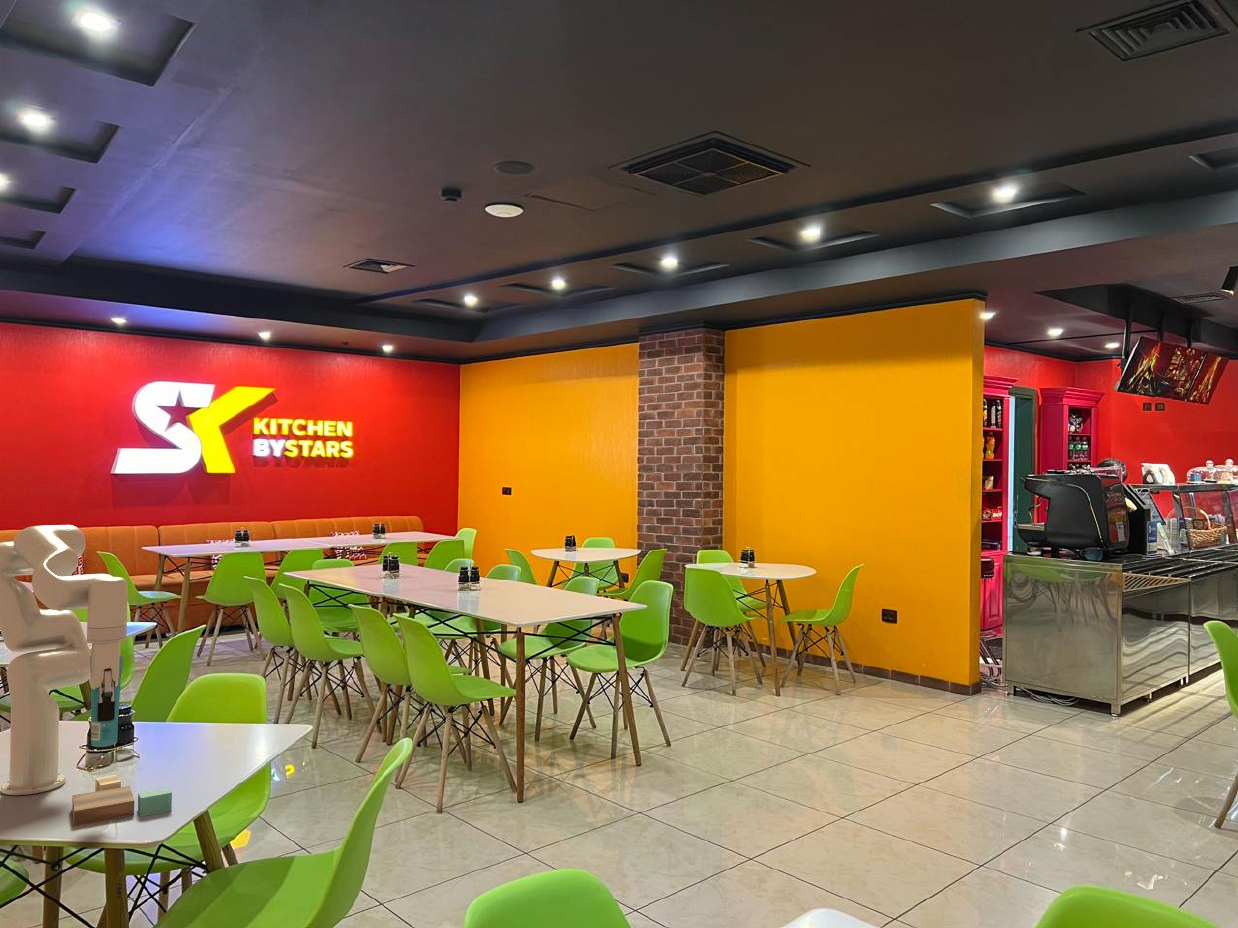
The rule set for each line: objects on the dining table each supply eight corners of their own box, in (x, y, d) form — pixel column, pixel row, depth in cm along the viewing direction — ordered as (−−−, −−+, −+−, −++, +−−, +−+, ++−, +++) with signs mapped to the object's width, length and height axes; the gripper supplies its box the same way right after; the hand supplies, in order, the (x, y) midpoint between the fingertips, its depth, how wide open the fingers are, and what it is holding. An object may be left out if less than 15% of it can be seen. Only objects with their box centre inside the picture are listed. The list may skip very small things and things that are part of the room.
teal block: (140, 816, 186) (140, 798, 186) (137, 811, 190) (138, 792, 190) (171, 810, 190) (171, 792, 190) (168, 805, 193) (168, 787, 193)
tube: (126, 740, 192) (129, 653, 192) (116, 747, 187) (119, 657, 188) (91, 741, 191) (94, 653, 192) (80, 747, 186) (82, 658, 187)
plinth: (72, 808, 190) (72, 795, 190) (129, 799, 196) (129, 785, 196) (74, 825, 181) (74, 810, 181) (134, 814, 187) (134, 800, 187)
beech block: (95, 795, 199) (95, 778, 199) (114, 791, 201) (115, 774, 201) (100, 803, 194) (100, 785, 194) (120, 799, 197) (120, 781, 197)
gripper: (84, 630, 195) (83, 711, 194) (88, 641, 180) (86, 729, 180) (123, 627, 199) (121, 706, 198) (130, 638, 185) (128, 724, 184)
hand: (105, 716), depth 189 cm, fingers closed on tube, 4 cm apart
